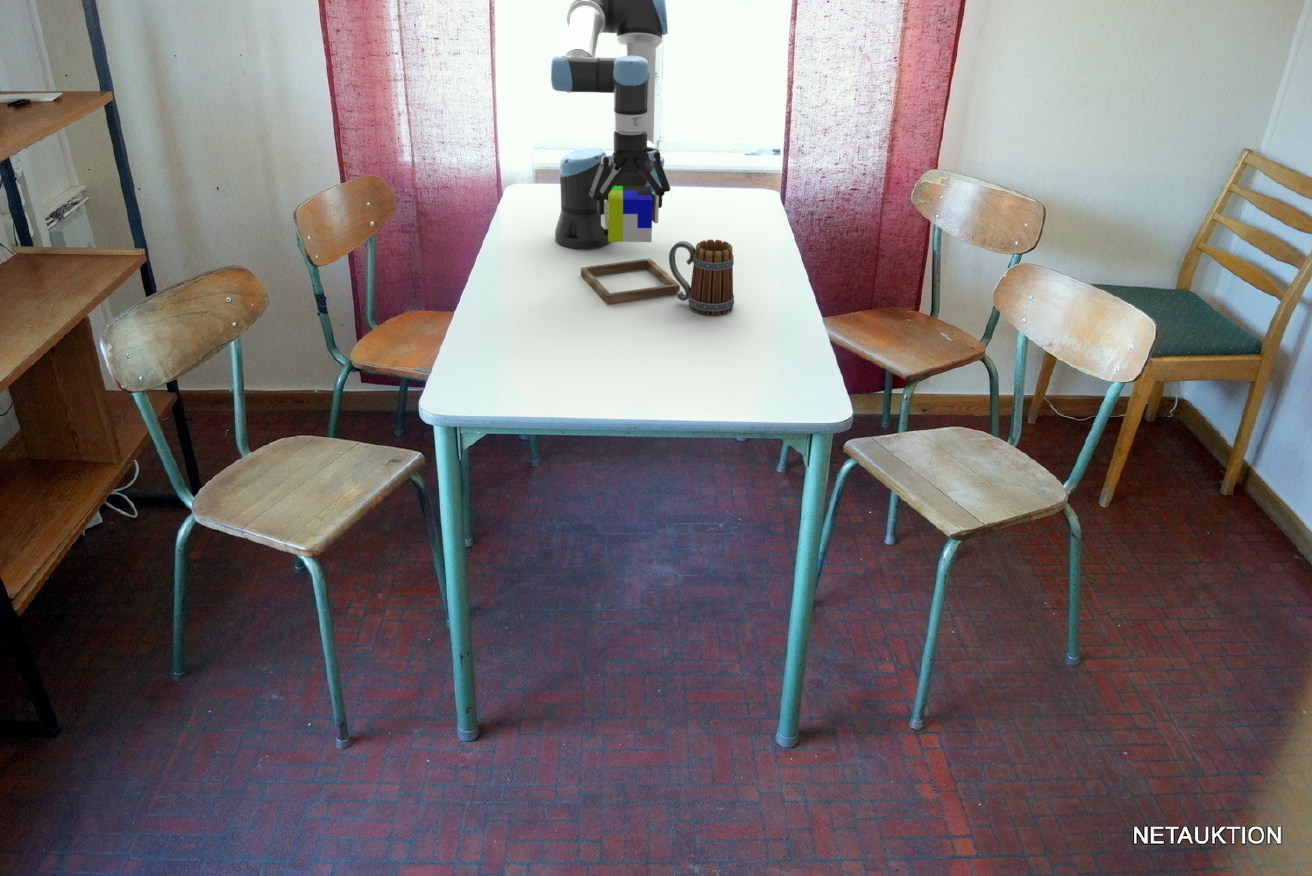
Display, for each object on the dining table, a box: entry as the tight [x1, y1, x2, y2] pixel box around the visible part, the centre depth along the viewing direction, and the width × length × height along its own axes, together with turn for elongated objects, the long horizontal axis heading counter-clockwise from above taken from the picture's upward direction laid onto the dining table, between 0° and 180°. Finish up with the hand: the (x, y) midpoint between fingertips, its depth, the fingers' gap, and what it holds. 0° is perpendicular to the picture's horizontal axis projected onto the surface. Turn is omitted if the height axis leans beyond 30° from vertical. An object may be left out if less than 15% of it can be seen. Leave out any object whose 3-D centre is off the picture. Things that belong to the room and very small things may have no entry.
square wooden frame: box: [580, 257, 681, 306], centre depth 246 cm, size 18×18×2 cm
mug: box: [668, 239, 735, 317], centre depth 233 cm, size 16×11×15 cm
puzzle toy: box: [608, 186, 653, 243], centre depth 237 cm, size 10×10×10 cm
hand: (629, 224), depth 239 cm, fingers closed on puzzle toy, 12 cm apart
